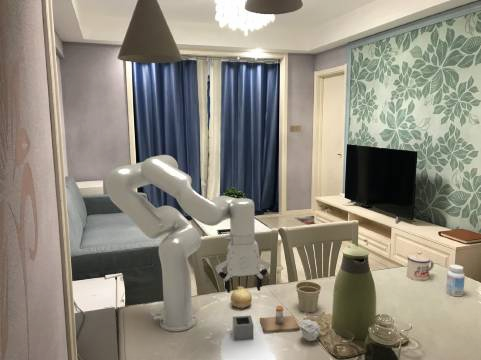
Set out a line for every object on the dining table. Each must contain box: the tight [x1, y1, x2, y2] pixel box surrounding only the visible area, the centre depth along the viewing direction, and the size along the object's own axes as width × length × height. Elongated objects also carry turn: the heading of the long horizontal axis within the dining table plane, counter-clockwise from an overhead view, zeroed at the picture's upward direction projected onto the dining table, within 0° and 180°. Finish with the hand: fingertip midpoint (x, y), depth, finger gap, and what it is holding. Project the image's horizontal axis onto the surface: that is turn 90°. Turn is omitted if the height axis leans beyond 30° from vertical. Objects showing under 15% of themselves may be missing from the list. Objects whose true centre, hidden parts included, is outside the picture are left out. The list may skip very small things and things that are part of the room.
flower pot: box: [295, 280, 322, 313], centre depth 144 cm, size 9×9×9 cm
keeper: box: [259, 305, 301, 334], centre depth 133 cm, size 12×8×6 cm, turn 97°
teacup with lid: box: [406, 250, 435, 282], centre depth 171 cm, size 12×9×12 cm
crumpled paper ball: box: [299, 318, 321, 342], centre depth 124 cm, size 6×7×7 cm
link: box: [232, 315, 254, 342], centre depth 128 cm, size 6×6×5 cm
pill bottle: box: [445, 264, 466, 297], centre depth 155 cm, size 6×6×11 cm
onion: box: [230, 285, 253, 309], centre depth 147 cm, size 8×8×7 cm
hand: (243, 290), depth 125 cm, fingers open, 9 cm apart
